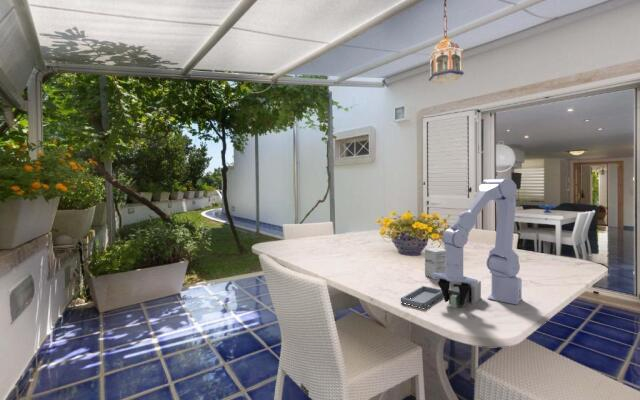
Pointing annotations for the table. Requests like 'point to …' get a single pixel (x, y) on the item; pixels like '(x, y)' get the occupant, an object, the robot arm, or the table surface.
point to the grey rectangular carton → (457, 297)
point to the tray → (422, 296)
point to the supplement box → (434, 261)
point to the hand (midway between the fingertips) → (454, 302)
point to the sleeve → (472, 291)
